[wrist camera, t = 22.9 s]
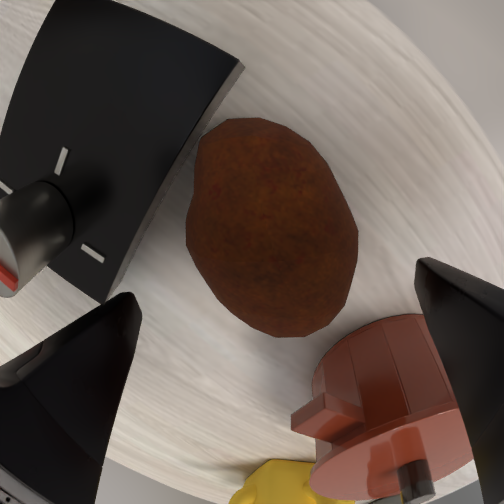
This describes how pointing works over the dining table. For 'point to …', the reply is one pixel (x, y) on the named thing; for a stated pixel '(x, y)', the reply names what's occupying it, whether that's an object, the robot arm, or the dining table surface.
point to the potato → (270, 228)
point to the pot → (373, 382)
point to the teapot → (281, 485)
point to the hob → (109, 126)
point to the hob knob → (31, 233)
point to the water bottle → (389, 500)
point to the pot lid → (396, 458)
